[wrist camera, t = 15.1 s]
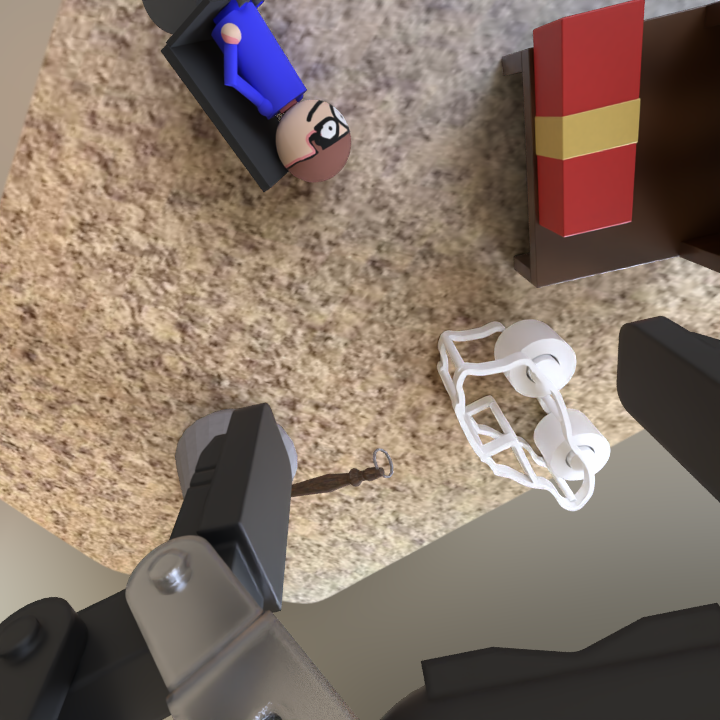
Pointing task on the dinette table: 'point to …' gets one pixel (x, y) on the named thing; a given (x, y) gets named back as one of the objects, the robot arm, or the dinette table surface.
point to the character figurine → (251, 89)
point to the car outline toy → (537, 380)
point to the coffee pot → (218, 423)
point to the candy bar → (588, 117)
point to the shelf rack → (647, 160)
